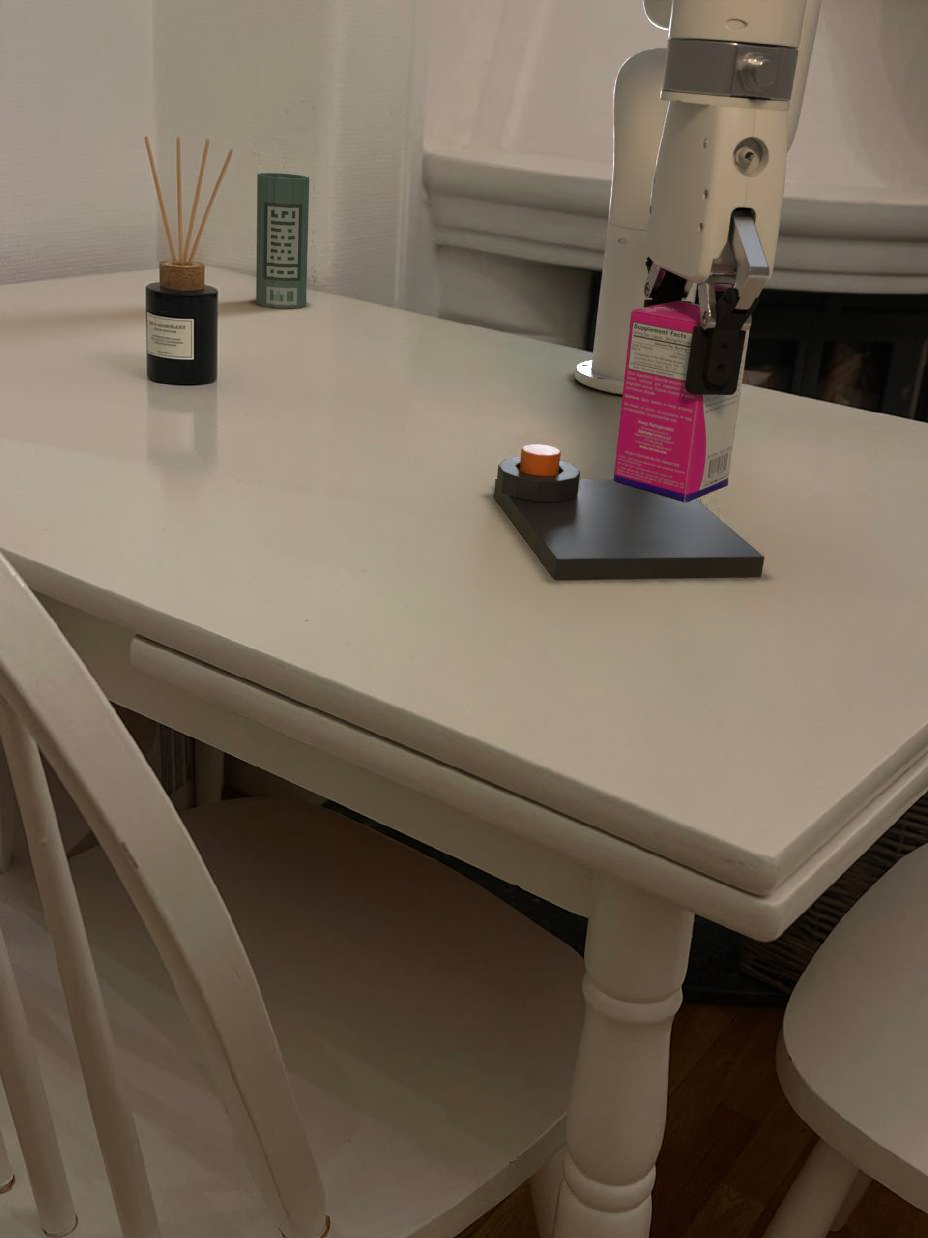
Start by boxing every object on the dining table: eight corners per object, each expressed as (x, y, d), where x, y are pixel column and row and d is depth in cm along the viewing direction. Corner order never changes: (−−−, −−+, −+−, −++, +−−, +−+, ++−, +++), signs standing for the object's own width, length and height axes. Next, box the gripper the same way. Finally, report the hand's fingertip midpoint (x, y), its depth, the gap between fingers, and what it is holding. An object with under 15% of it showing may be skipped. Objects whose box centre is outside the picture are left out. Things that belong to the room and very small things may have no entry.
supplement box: (653, 465, 87) (677, 297, 83) (729, 487, 84) (758, 313, 79) (607, 481, 83) (630, 305, 78) (685, 504, 80) (713, 323, 75)
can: (304, 300, 159) (307, 175, 153) (306, 309, 154) (310, 179, 148) (256, 297, 158) (257, 171, 152) (256, 306, 153) (257, 176, 147)
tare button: (514, 467, 91) (517, 443, 90) (552, 467, 91) (554, 443, 91) (525, 479, 88) (527, 455, 88) (563, 479, 89) (565, 455, 88)
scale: (487, 495, 93) (491, 455, 92) (669, 495, 96) (675, 457, 95) (549, 580, 78) (554, 534, 77) (761, 577, 82) (769, 533, 80)
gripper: (859, 89, 67) (798, 414, 74) (727, 79, 82) (687, 348, 89) (728, 79, 65) (679, 411, 72) (618, 70, 80) (586, 345, 88)
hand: (684, 374), depth 81 cm, fingers closed on supplement box, 7 cm apart
